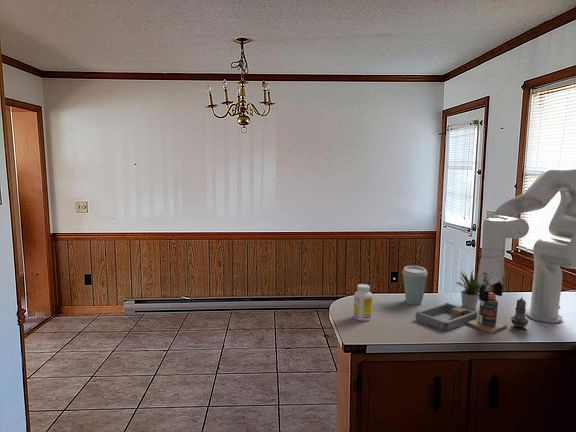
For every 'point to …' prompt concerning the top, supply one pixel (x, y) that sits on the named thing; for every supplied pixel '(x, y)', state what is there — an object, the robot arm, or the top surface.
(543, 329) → the top surface
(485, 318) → the pill bottle
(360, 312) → the supplement bottle
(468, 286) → the house plant
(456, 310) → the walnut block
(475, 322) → the pad
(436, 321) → the bin
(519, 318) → the stone chess piece
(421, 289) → the disposable coffee cup
